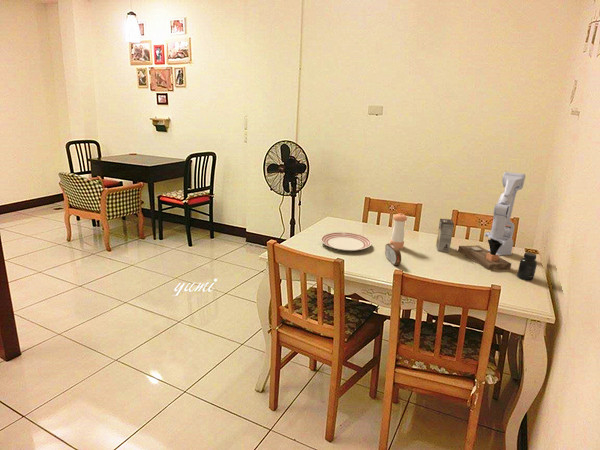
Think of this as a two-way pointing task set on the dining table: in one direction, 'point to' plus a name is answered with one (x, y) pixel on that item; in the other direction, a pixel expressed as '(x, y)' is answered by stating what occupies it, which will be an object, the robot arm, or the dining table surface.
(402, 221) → the pepper shaker
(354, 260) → the dining table surface
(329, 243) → the dinner plate
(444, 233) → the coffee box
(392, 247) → the tin
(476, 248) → the steel key
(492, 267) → the board
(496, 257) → the terracotta key
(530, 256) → the supplement bottle
